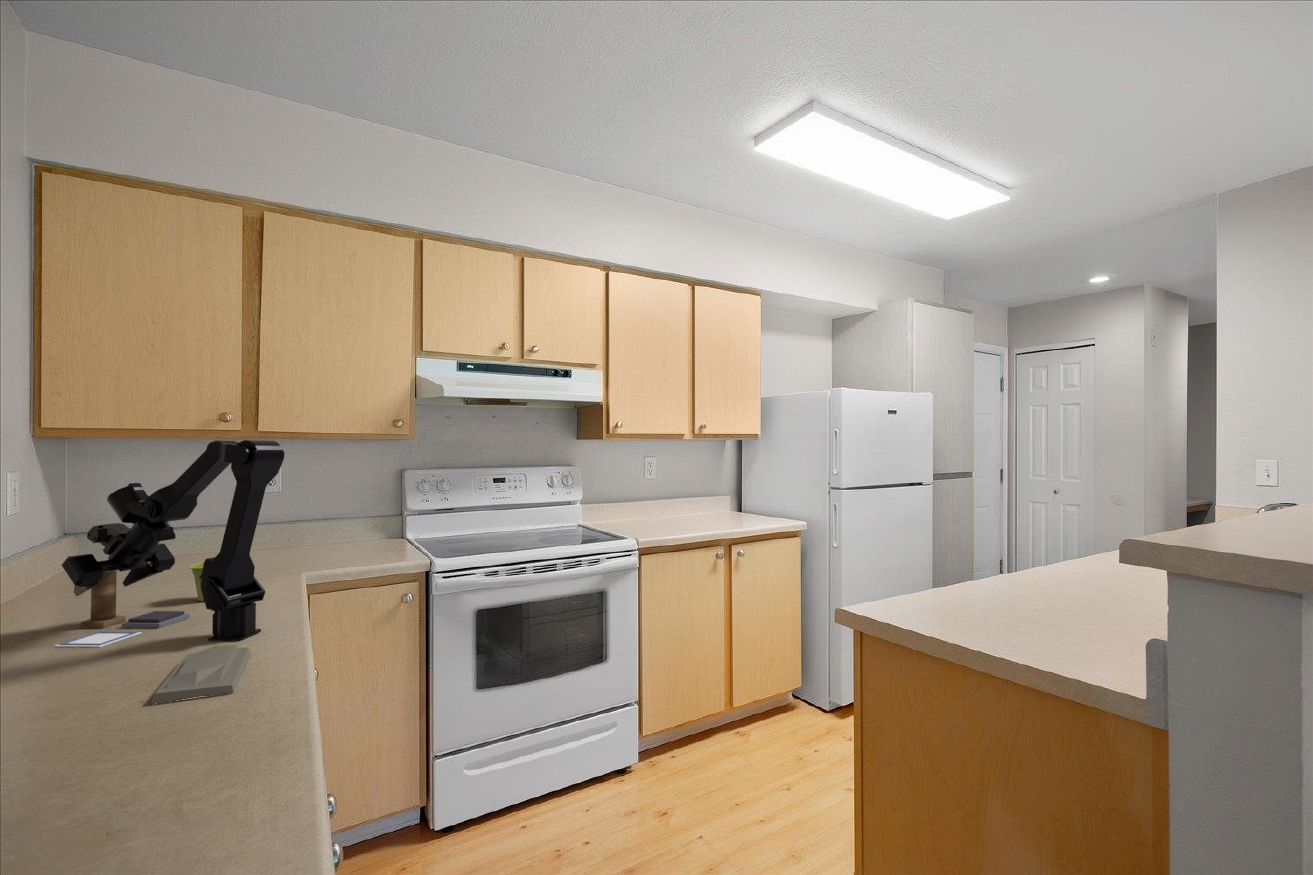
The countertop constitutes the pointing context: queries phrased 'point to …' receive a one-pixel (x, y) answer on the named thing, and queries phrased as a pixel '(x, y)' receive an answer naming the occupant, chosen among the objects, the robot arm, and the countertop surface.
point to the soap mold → (205, 674)
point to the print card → (98, 639)
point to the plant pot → (197, 573)
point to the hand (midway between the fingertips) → (100, 589)
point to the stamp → (103, 603)
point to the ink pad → (155, 619)
